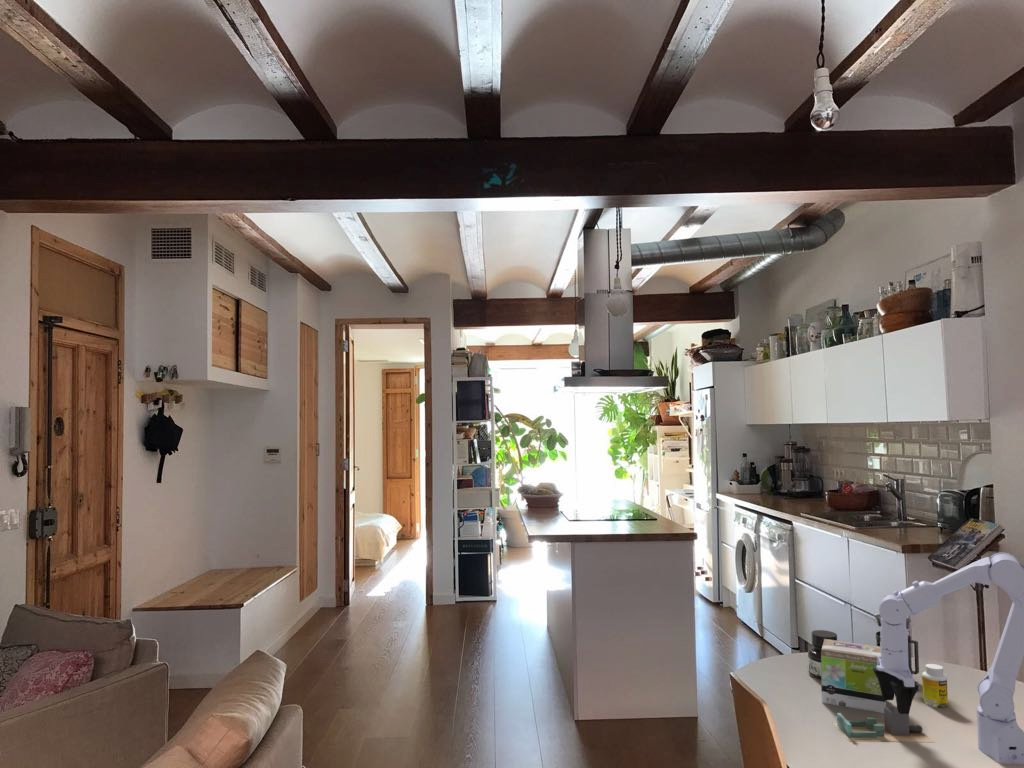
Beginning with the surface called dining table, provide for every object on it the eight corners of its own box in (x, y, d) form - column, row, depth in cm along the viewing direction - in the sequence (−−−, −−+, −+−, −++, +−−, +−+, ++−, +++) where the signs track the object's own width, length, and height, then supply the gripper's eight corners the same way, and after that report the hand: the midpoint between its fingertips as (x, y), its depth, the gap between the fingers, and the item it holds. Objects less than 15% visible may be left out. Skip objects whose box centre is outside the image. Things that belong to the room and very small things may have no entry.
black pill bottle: (801, 670, 212) (800, 629, 212) (828, 668, 214) (827, 627, 214) (821, 683, 202) (820, 640, 203) (849, 680, 204) (848, 637, 204)
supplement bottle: (941, 712, 182) (940, 671, 182) (918, 705, 187) (917, 665, 187) (952, 707, 185) (950, 667, 185) (929, 700, 190) (928, 660, 190)
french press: (867, 676, 207) (865, 595, 208) (883, 669, 212) (881, 590, 213) (910, 689, 197) (907, 604, 198) (925, 680, 203) (923, 598, 204)
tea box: (821, 706, 187) (819, 648, 188) (824, 692, 196) (823, 637, 196) (886, 717, 180) (884, 657, 181) (886, 702, 189) (885, 645, 189)
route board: (934, 745, 165) (934, 728, 165) (849, 744, 166) (848, 727, 166) (912, 726, 175) (912, 710, 175) (832, 725, 176) (831, 709, 176)
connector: (926, 735, 168) (925, 714, 168) (891, 735, 168) (891, 713, 168) (918, 728, 171) (917, 707, 172) (884, 728, 172) (884, 707, 172)
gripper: (863, 638, 178) (865, 693, 178) (891, 658, 164) (892, 719, 163) (893, 638, 178) (894, 694, 177) (923, 658, 163) (925, 719, 163)
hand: (895, 706), depth 170 cm, fingers open, 7 cm apart
